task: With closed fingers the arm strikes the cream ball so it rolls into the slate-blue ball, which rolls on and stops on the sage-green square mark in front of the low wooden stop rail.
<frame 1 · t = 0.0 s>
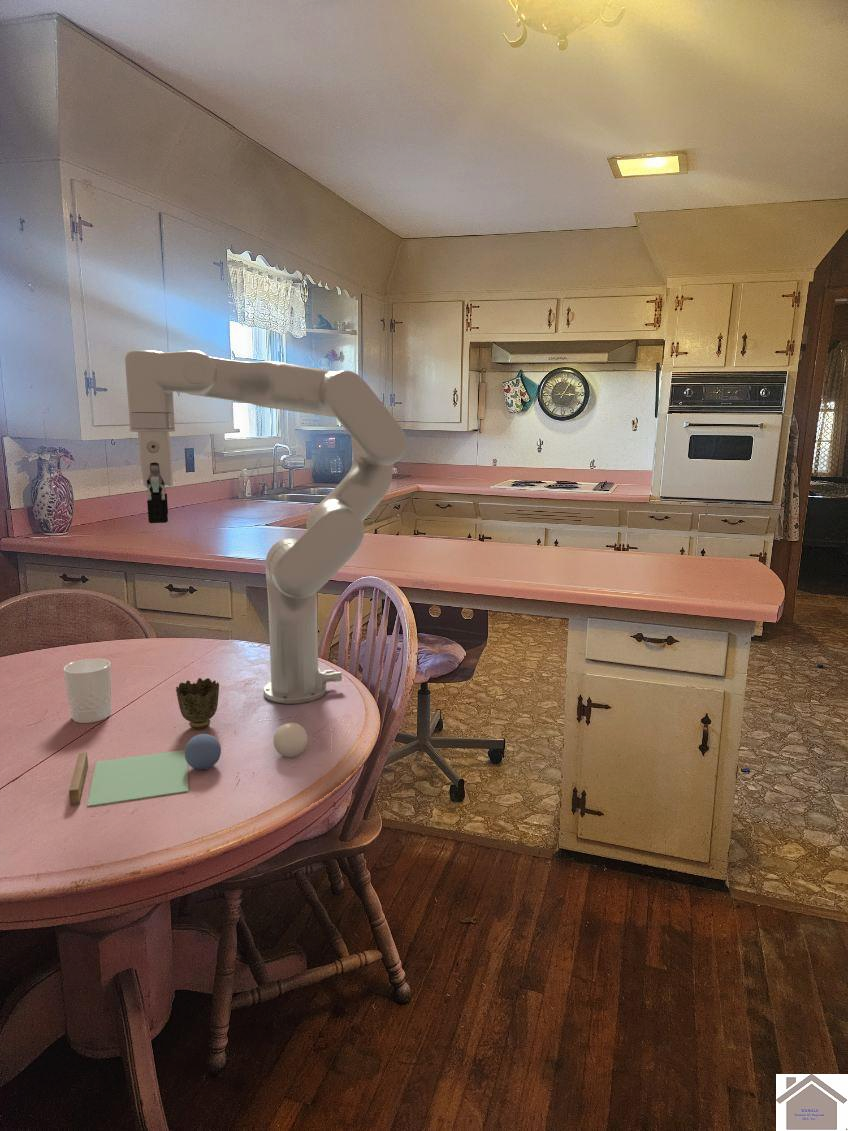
hand: (158, 518, 132), 37 cm above the table, tool pointing down, fingers open, 9 cm apart
object ball: (202, 751, 116), on the table
cream ball: (290, 739, 120), on the table
stop rail: (79, 785, 111), on the table
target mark: (140, 776, 113), on the table
white cup: (91, 716, 135), on the table
cup: (200, 727, 131), on the table
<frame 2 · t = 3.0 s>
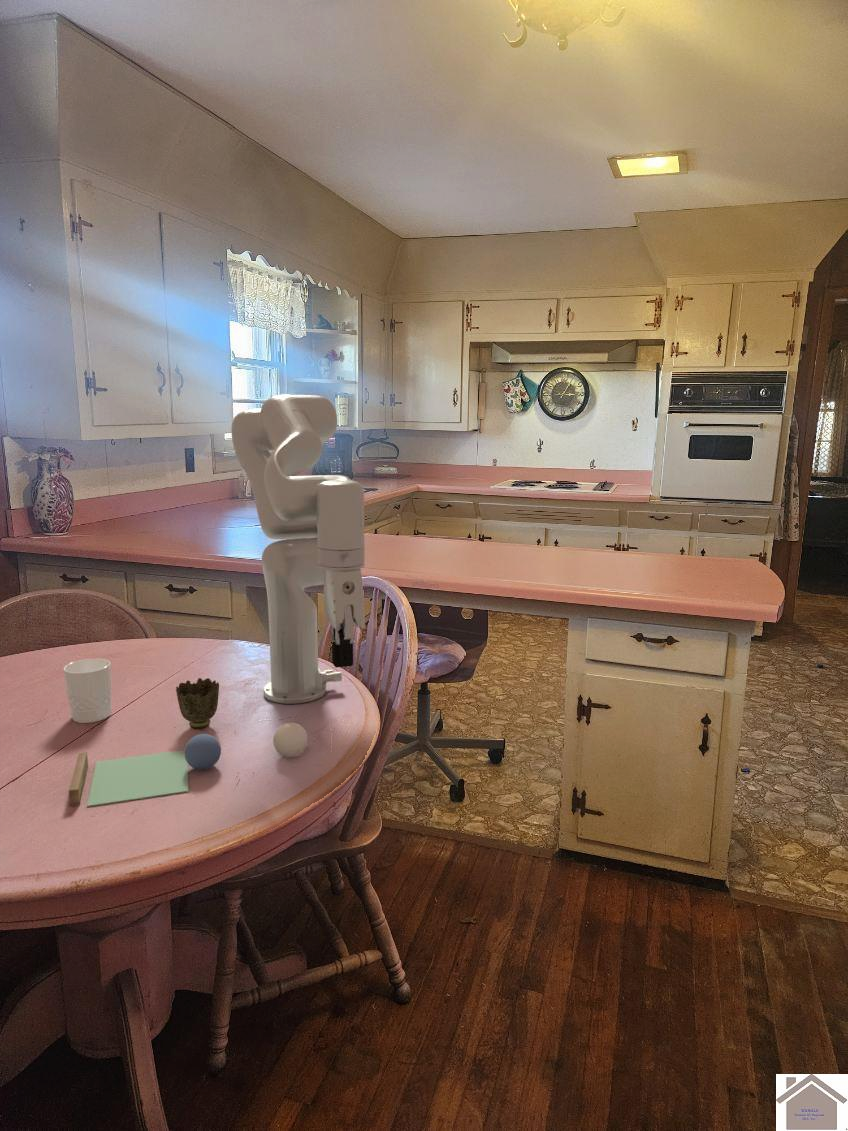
hand: (342, 664, 121), 15 cm above the table, tool pointing down, fingers closed
nothing on the table moved.
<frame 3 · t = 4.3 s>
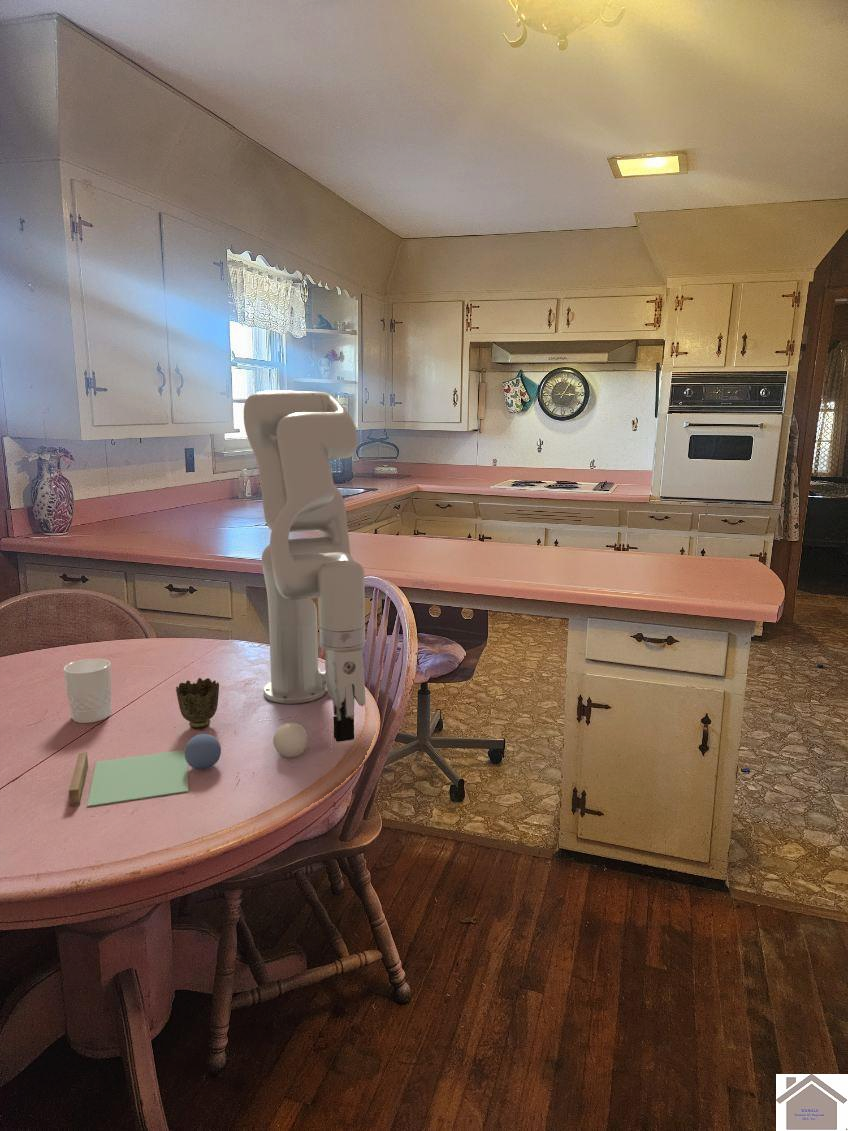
hand: (344, 738, 123), 2 cm above the table, tool pointing down, fingers closed
nothing on the table moved.
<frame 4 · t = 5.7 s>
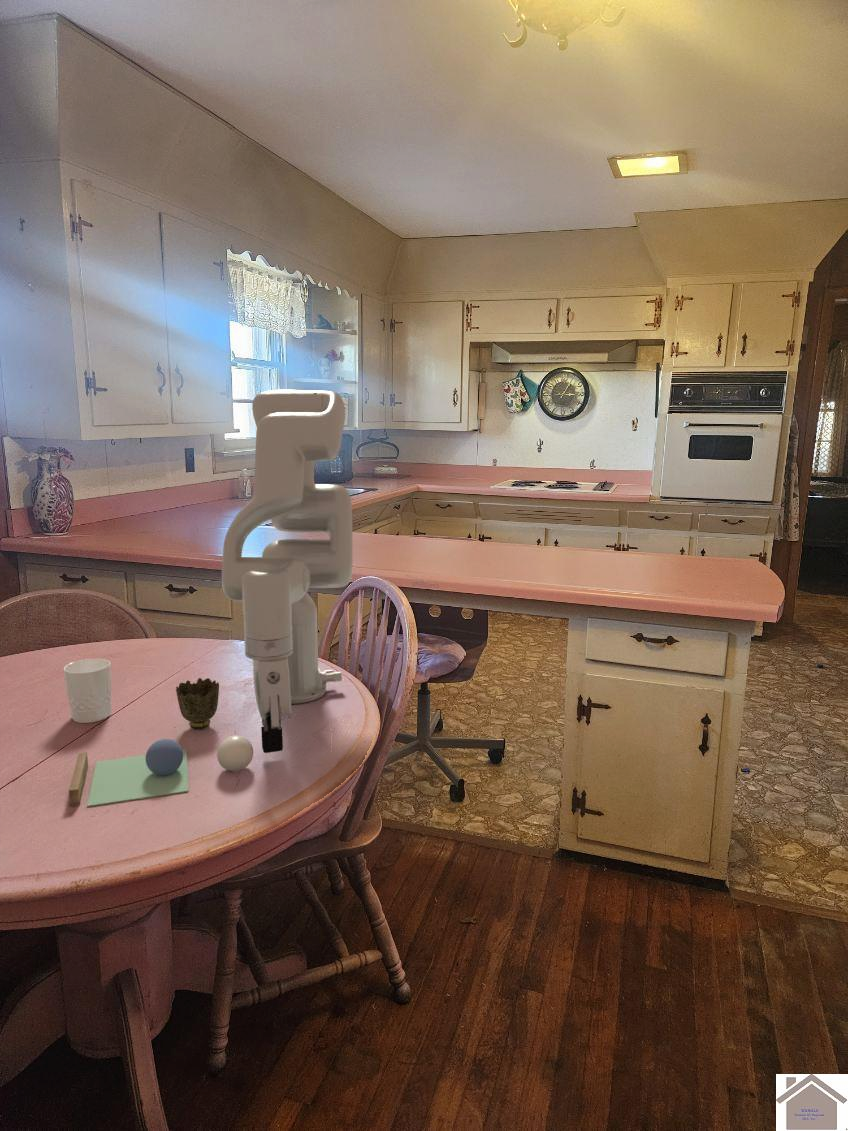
hand: (272, 749, 120), 2 cm above the table, tool pointing down, fingers closed
object ball: (164, 757, 114), on the table
cream ball: (235, 753, 116), on the table
everything else where it was.
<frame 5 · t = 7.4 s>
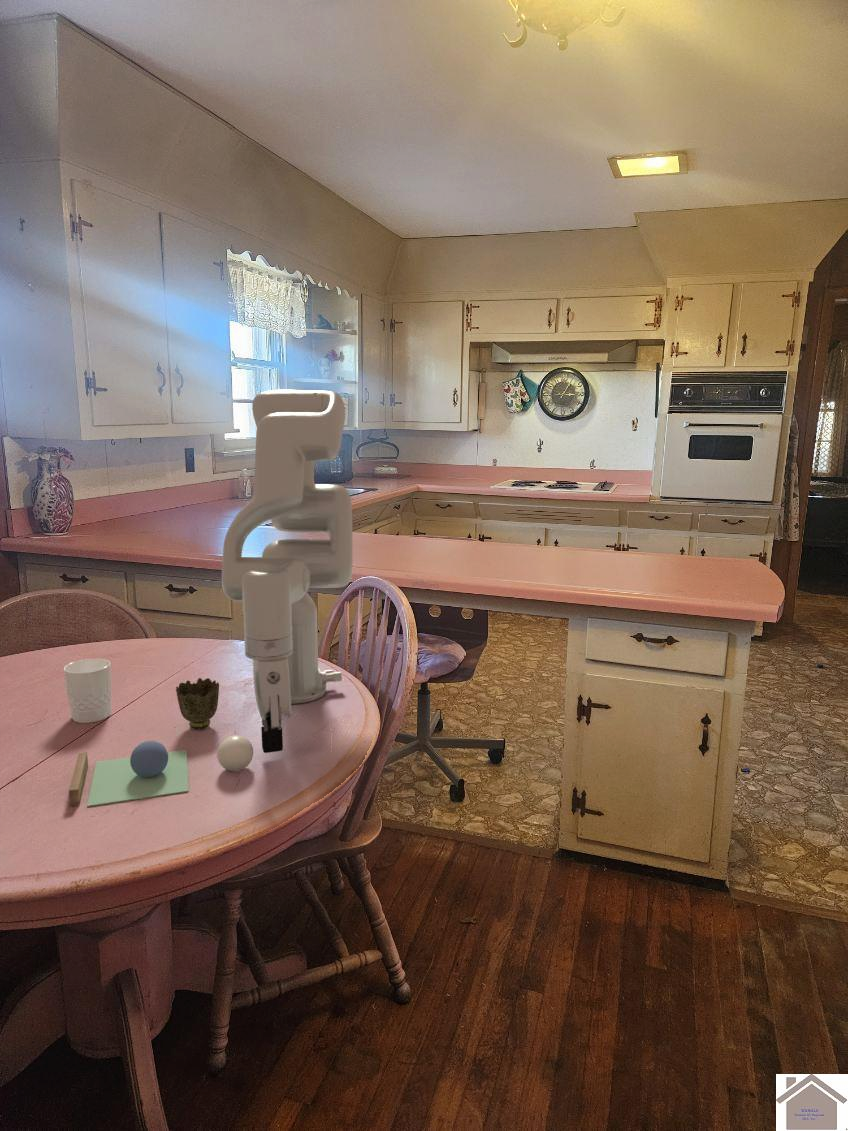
hand: (272, 749, 120), 2 cm above the table, tool pointing down, fingers closed
object ball: (149, 759, 113), on the table
everything else where it was.
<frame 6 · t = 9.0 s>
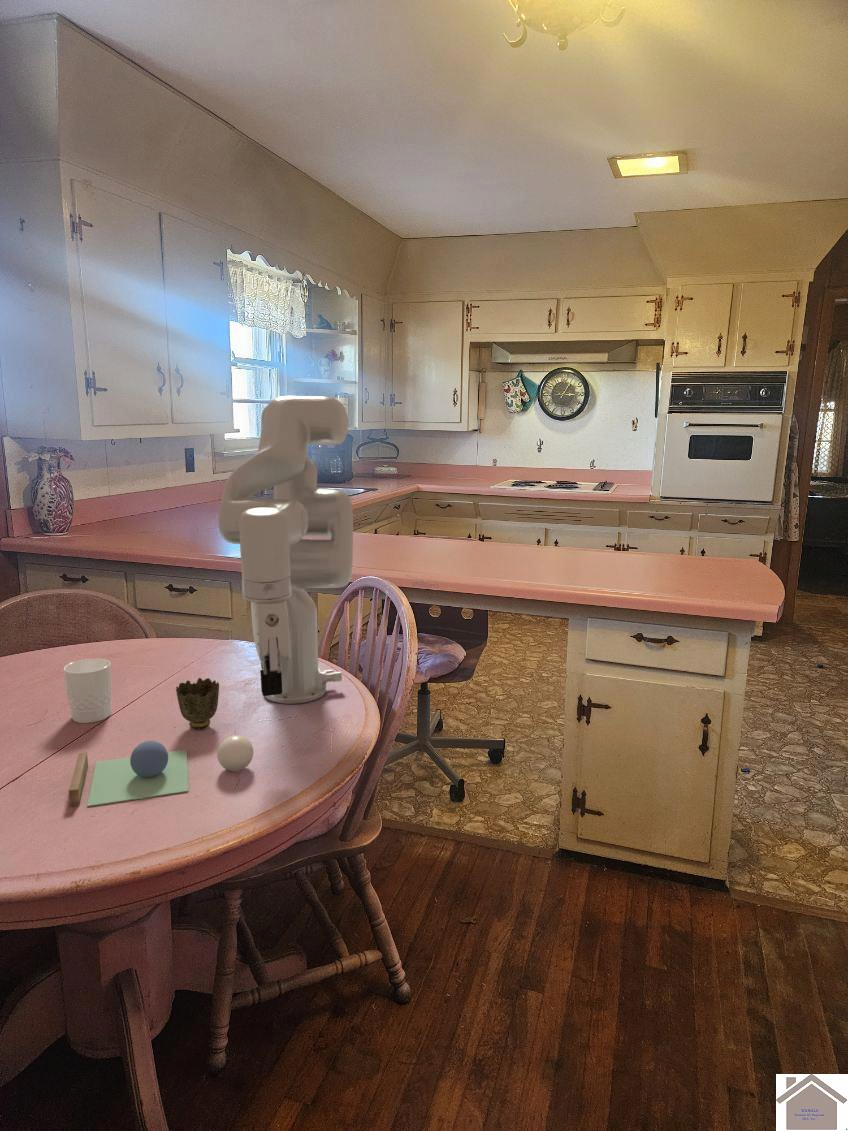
hand: (271, 692, 119), 11 cm above the table, tool pointing down, fingers closed
nothing on the table moved.
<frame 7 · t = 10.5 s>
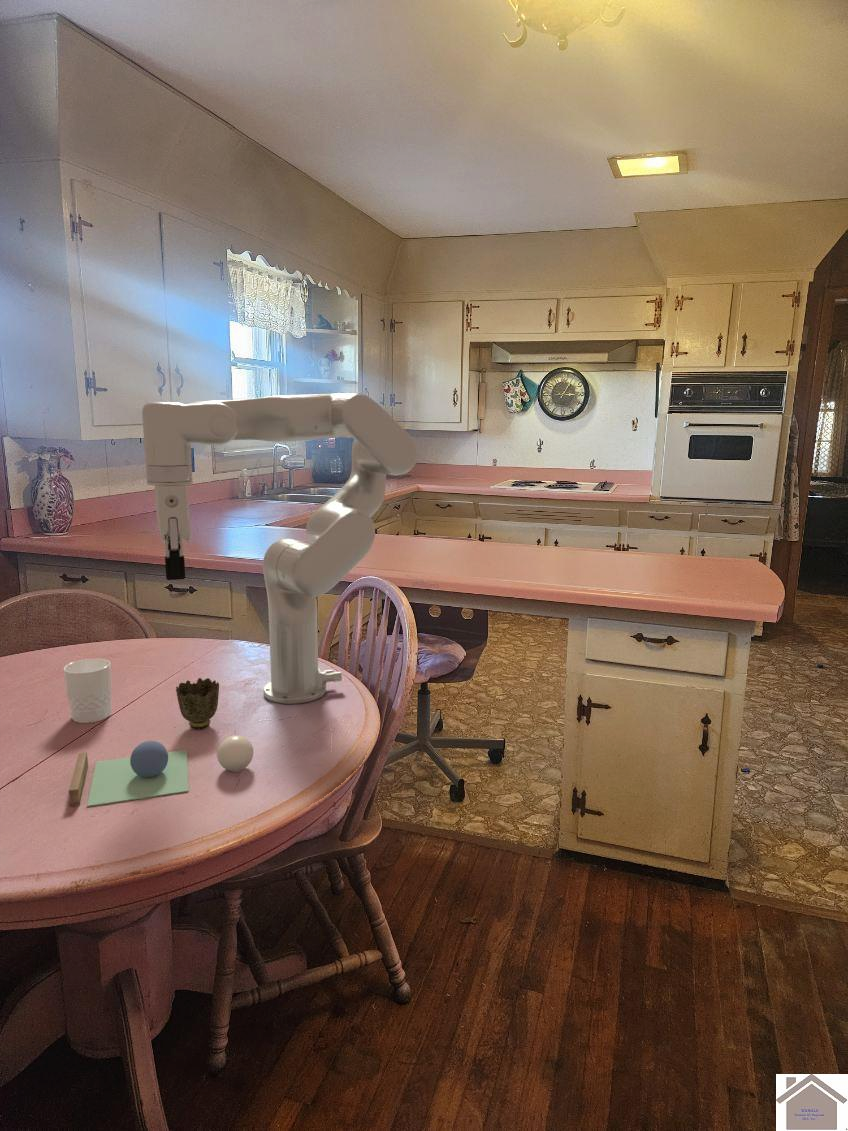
hand: (175, 578, 129), 27 cm above the table, tool pointing down, fingers closed
nothing on the table moved.
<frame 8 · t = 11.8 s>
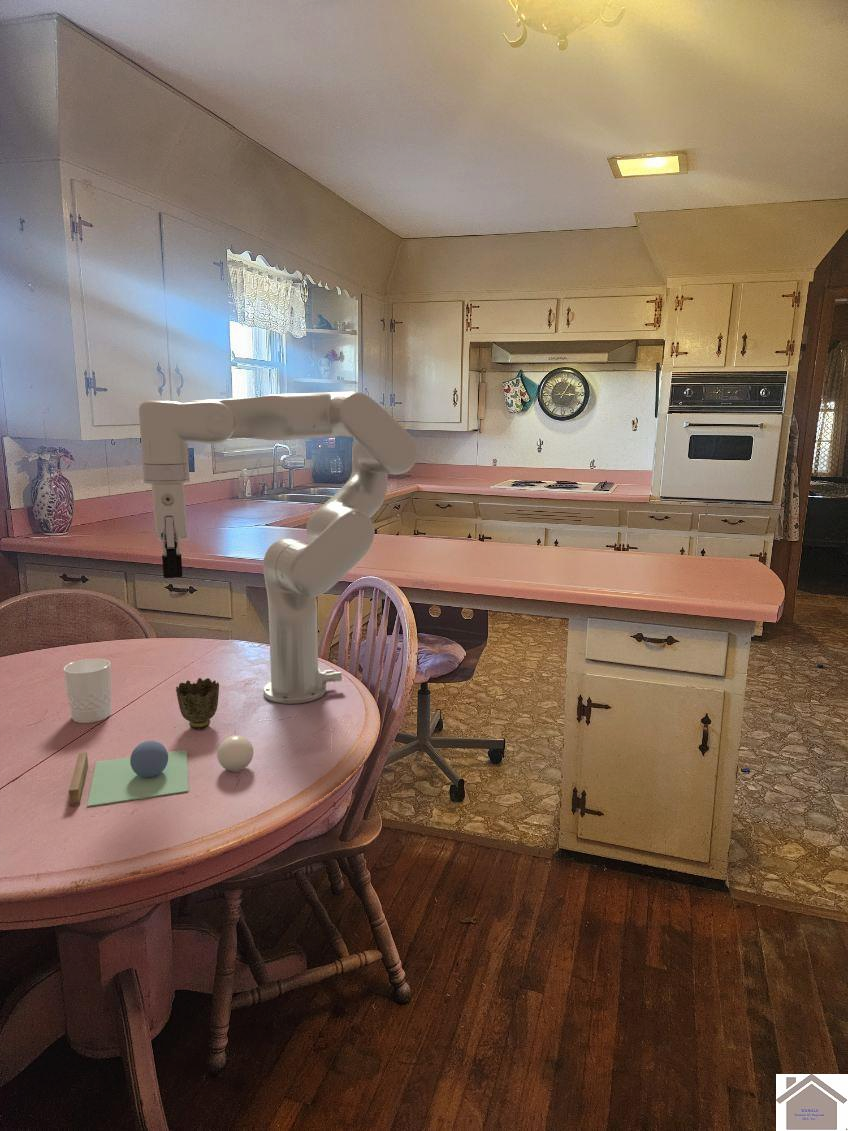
hand: (173, 576, 129), 27 cm above the table, tool pointing down, fingers closed
nothing on the table moved.
at the end: object ball 1.5 cm from the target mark (horizontally); object ball never touched the robot; cream ball first touched object ball at 5.0 s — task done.
